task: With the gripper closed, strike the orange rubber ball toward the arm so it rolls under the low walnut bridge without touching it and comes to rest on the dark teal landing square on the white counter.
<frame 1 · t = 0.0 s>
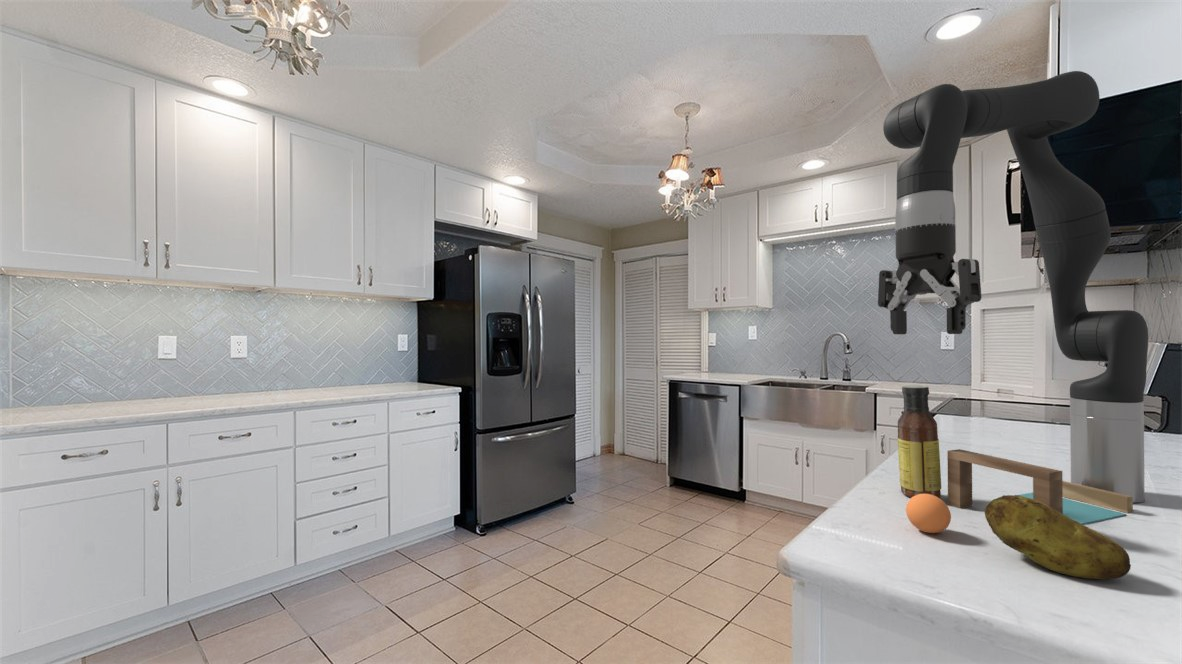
hand: (925, 334, 74), 29 cm above the worktop, tool pointing down, fingers open, 8 cm apart
bridge: (1000, 518, 78), on the worktop
sauce bottle: (919, 497, 89), on the worktop
stopper strip: (1087, 501, 86), on the worktop
potato: (1051, 568, 62), on the worktop
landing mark: (1056, 507, 83), on the worktop
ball: (928, 513, 73), on the worktop
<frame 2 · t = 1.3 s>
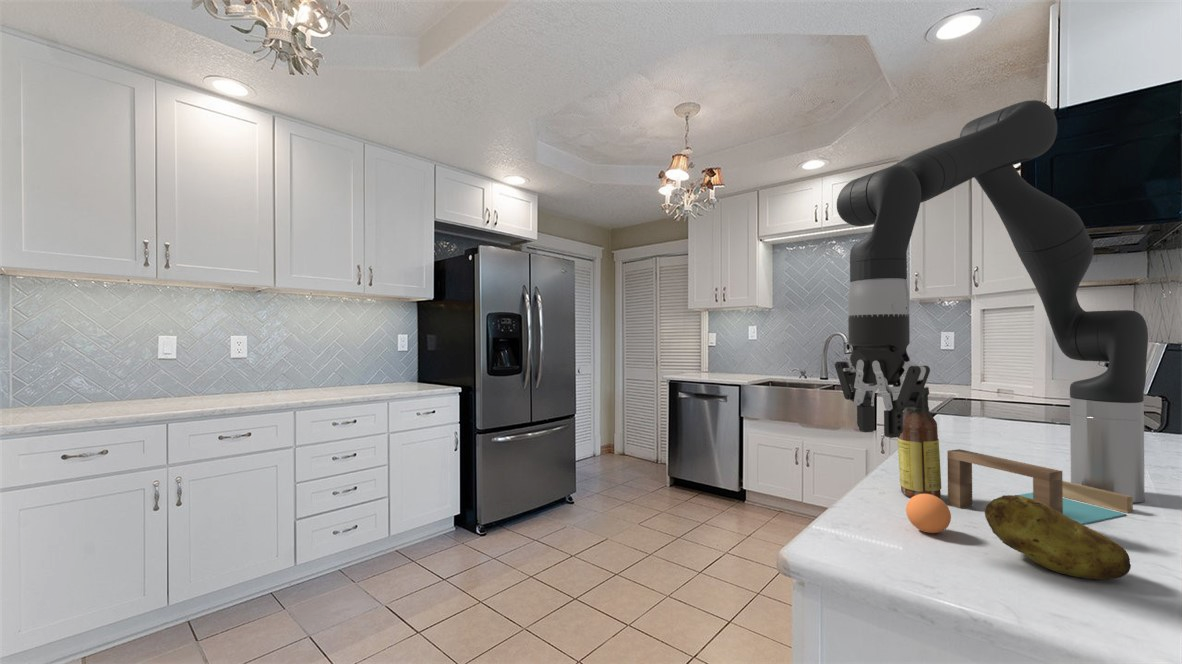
hand: (879, 433, 70), 15 cm above the worktop, tool pointing down, fingers open, 3 cm apart
nothing on the worktop moved.
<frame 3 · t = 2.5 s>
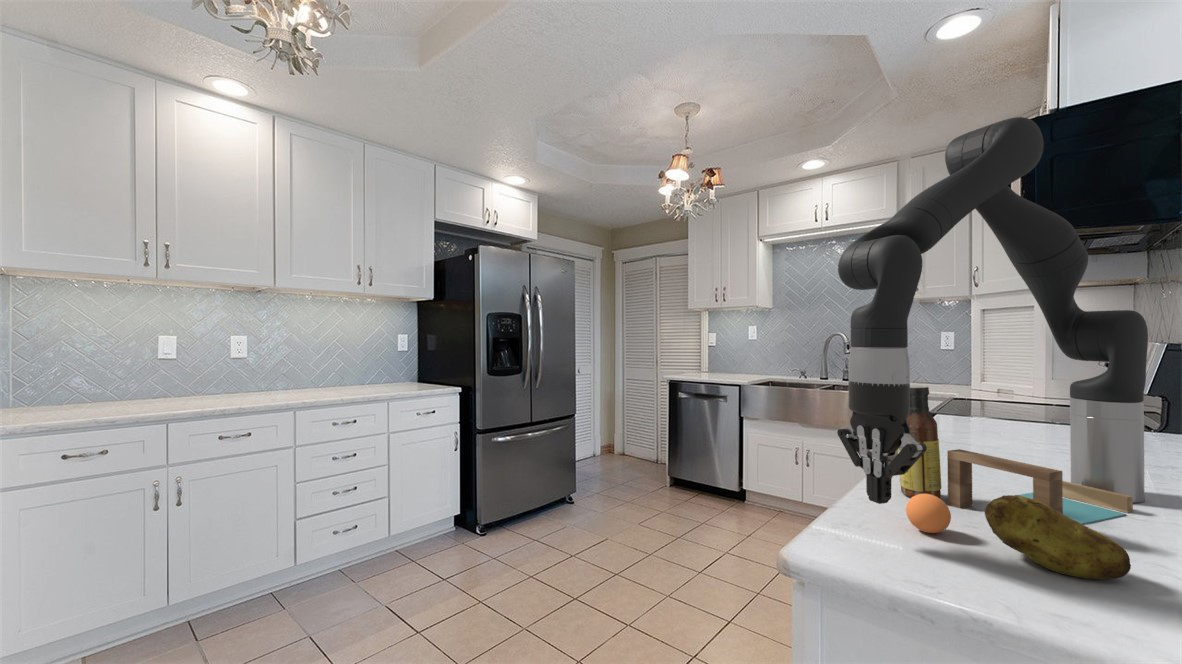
hand: (878, 501, 70), 6 cm above the worktop, tool pointing down, fingers closed
nothing on the worktop moved.
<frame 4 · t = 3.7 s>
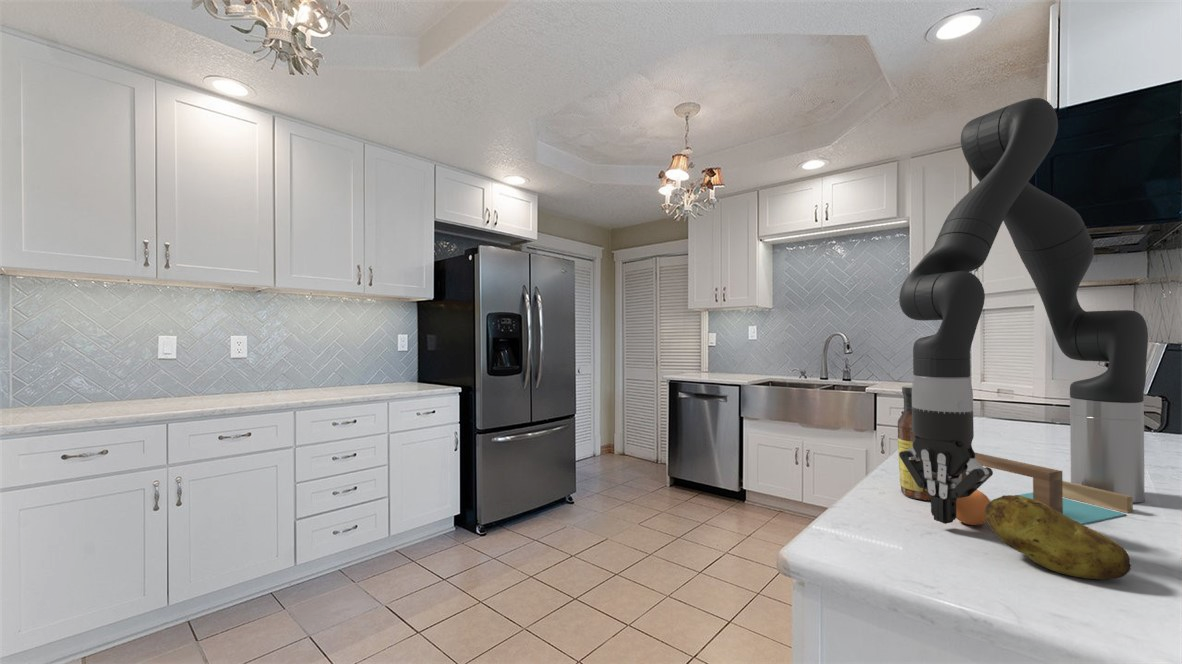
hand: (943, 521, 74), 1 cm above the worktop, tool pointing down, fingers closed
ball: (969, 506, 76), on the worktop
everything else where it was.
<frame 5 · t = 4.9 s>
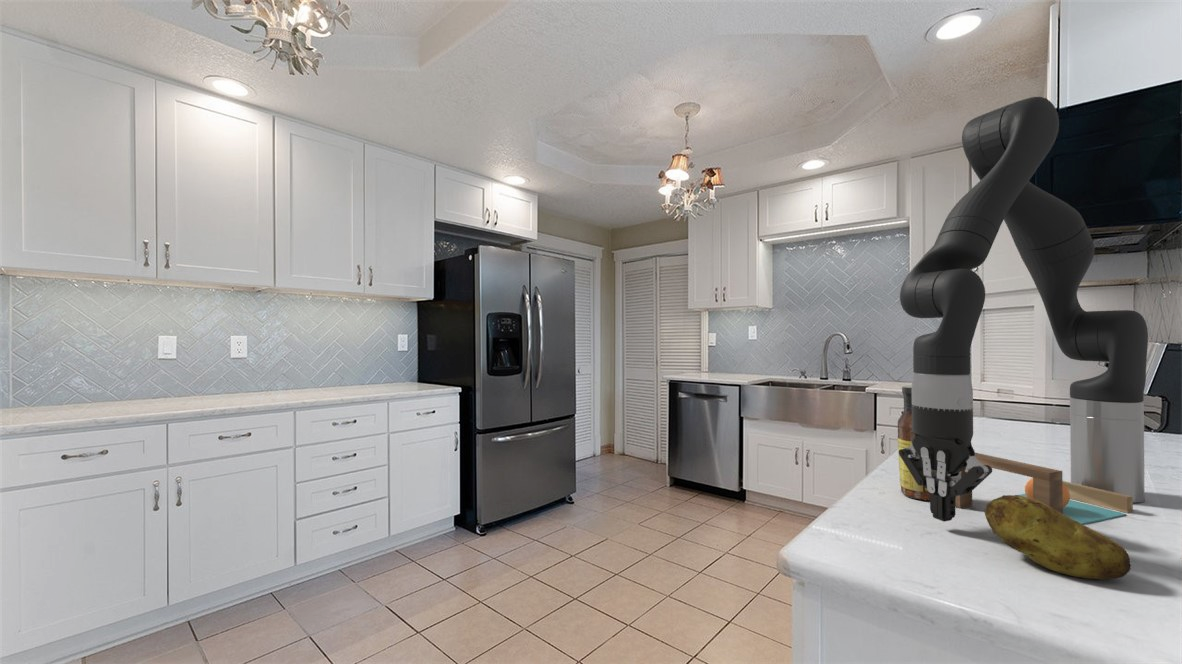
hand: (942, 519, 74), 2 cm above the worktop, tool pointing down, fingers closed
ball: (1046, 492, 82), on the worktop
everything else where it was.
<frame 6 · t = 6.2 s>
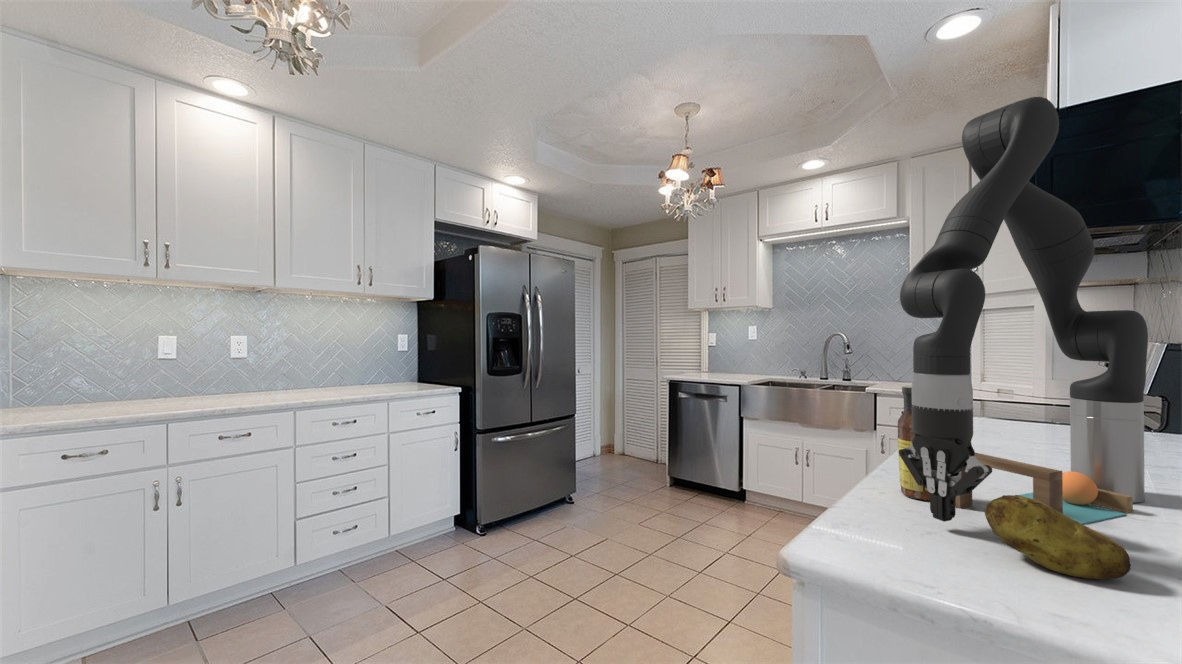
hand: (942, 519, 74), 2 cm above the worktop, tool pointing down, fingers closed
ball: (1074, 488, 84), on the worktop
everything else where it was.
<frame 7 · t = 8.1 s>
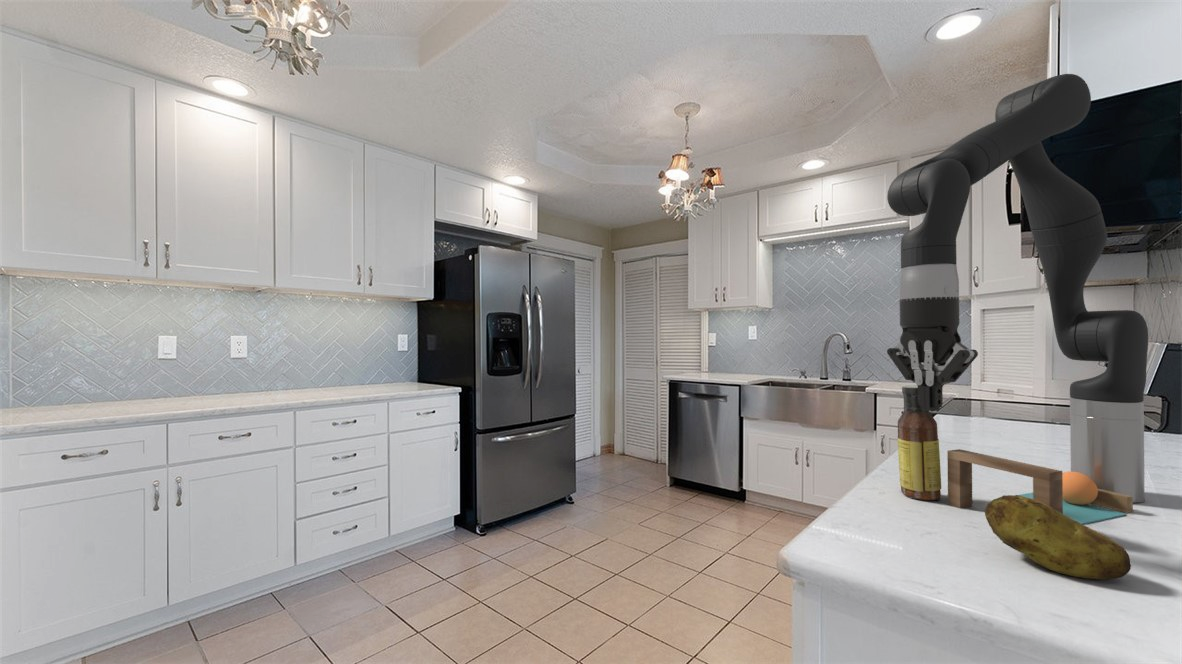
hand: (929, 410, 75), 18 cm above the worktop, tool pointing down, fingers closed
nothing on the worktop moved.
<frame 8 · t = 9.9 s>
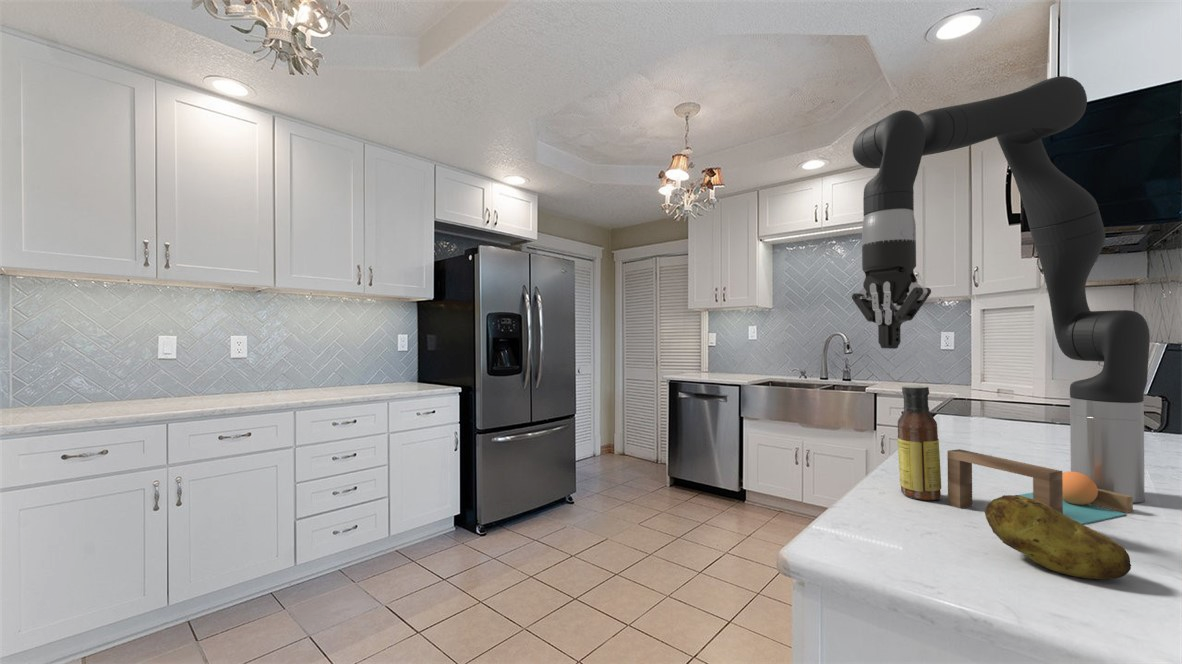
hand: (889, 348, 80), 27 cm above the worktop, tool pointing down, fingers closed
nothing on the worktop moved.
at the end: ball 4.8 cm from the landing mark (horizontally); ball never touched bridge; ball at rest at the end (0.0 cm/s) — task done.
